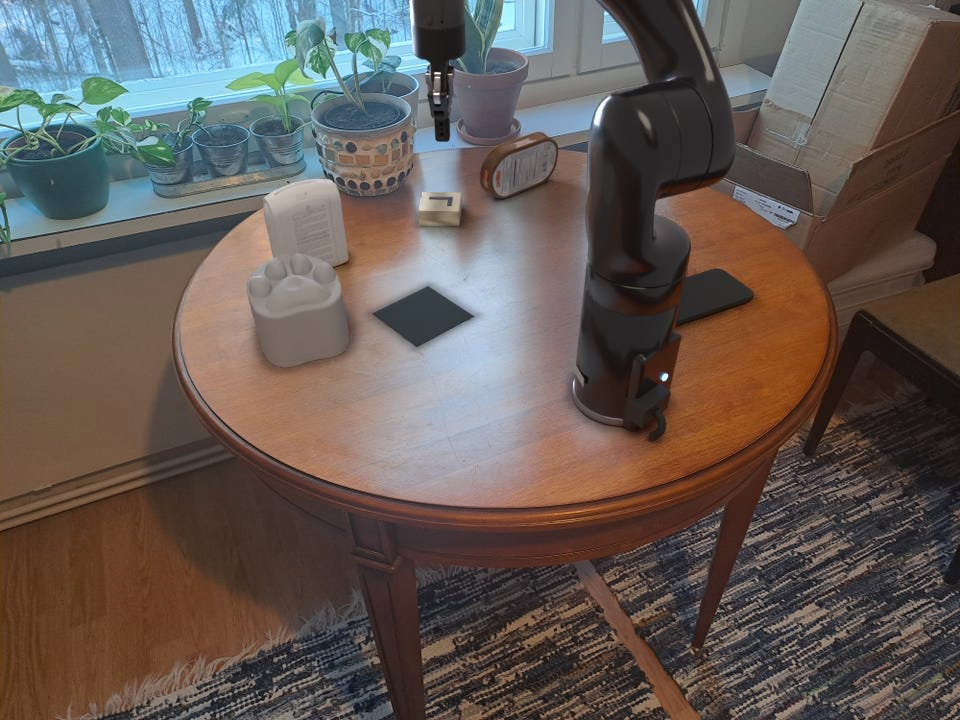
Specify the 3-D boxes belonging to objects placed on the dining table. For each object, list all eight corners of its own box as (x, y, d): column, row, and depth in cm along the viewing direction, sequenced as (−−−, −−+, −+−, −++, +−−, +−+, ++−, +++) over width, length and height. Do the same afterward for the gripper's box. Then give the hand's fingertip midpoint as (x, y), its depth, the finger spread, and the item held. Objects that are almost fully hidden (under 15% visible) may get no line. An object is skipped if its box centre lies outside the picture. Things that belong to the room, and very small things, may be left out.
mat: (473, 316, 88) (473, 315, 88) (416, 346, 84) (416, 346, 84) (428, 286, 93) (428, 285, 93) (372, 313, 89) (372, 313, 89)
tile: (461, 207, 110) (461, 191, 109) (459, 226, 106) (458, 210, 104) (423, 206, 110) (422, 191, 109) (419, 225, 106) (418, 210, 104)
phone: (625, 295, 90) (719, 266, 95) (624, 300, 91) (718, 271, 95) (660, 327, 85) (758, 294, 90) (659, 332, 85) (756, 299, 90)
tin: (546, 173, 119) (549, 124, 114) (560, 179, 117) (563, 130, 112) (478, 200, 112) (477, 149, 106) (490, 207, 110) (491, 156, 105)
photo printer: (341, 249, 101) (328, 167, 93) (354, 262, 98) (342, 179, 90) (272, 271, 97) (252, 187, 89) (284, 285, 94) (265, 201, 86)
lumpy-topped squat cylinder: (267, 372, 80) (251, 311, 75) (252, 310, 90) (236, 251, 84) (357, 351, 83) (347, 290, 78) (333, 293, 92) (323, 234, 87)
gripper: (461, 33, 92) (464, 158, 104) (468, 6, 102) (469, 123, 114) (404, 32, 93) (413, 157, 104) (416, 5, 103) (423, 122, 114)
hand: (442, 139), depth 109 cm, fingers closed
